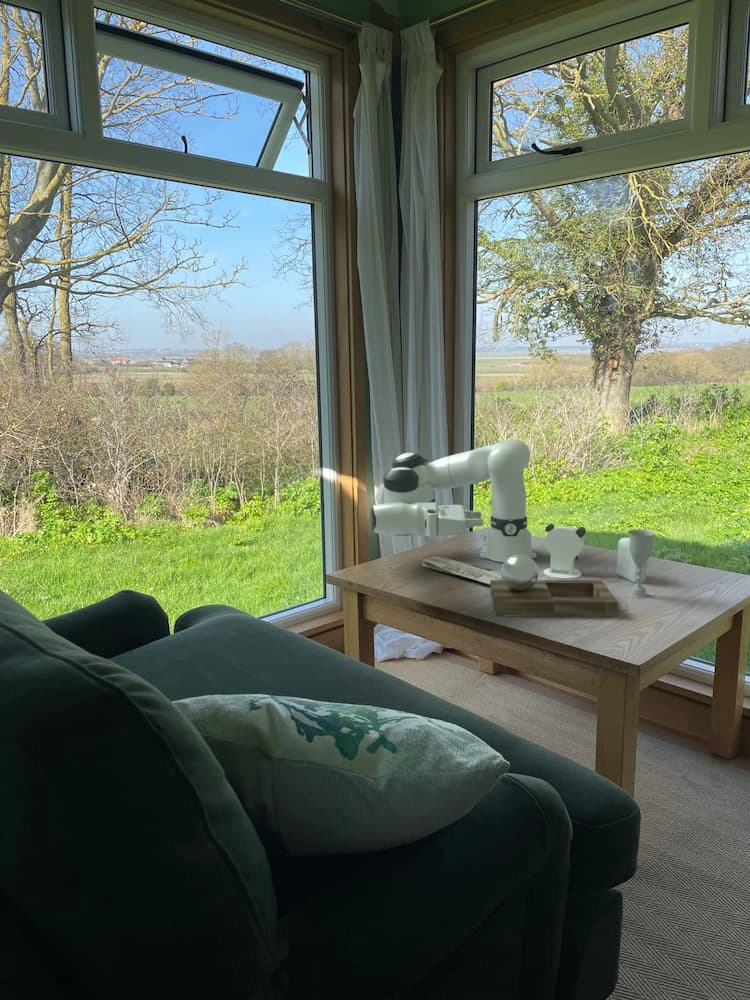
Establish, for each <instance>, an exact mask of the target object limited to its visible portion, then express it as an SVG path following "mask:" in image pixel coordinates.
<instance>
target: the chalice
mask: <svg viewBox="0 0 750 1000" xmlns="http://www.w3.org/2000/svg"><path fill="white" fill-rule="evenodd" d="M627 533H628V536H629V538H630V541H629V550H630V554H631V556H632V559H633V561H634V563H635V564H636V565H638V569H637V571H636V572H637V577H636V579H637V583H635V585H633V586H632V587H631V589H630V590H629V593H628V596H630V597H632V596H633V597H632V598H636V597H639V599H643V598H644V599H645V598H648V596H649V595H648V593H647V590H646V587H645V586H643V585H642V583H640V582H641V580H642V578H641V573H642V570H641V567H642V565H645V564H646V562H647V563H648V560H649V559H650V556H651V555H652V552H653V539H654V537H655V535H656V532H654V531H652V530H647V529H629V530H628V531H627Z"/></svg>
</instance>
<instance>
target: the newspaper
mask: <svg viewBox="0 0 750 1000" xmlns="http://www.w3.org/2000/svg"><path fill="white" fill-rule="evenodd" d="M418 560H421V561H423V562H422V567H424V568H426V569H430V570H433V571H438V572H442V573H445V574H449V575H453V576H456V577H460V578H463V579H467V580H471V581H474V582H479V583H482V584H485V585H489V586H490V580H502V577H501V571H499V570H495V569H491V568H487V567H483V566H479V565H474V564H472V563H467V562H463V561H458V560H454V559H450V558H446V557H443V556H440V555H439V556H432V557H429V558H425V559H421V558H418Z"/></svg>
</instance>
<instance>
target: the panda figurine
mask: <svg viewBox="0 0 750 1000" xmlns="http://www.w3.org/2000/svg"><path fill="white" fill-rule="evenodd" d="M545 532H546V533H547V535H546V537H545V542H544V544H545V545H544V546H545V548H546V550H547V552H548V553H549V554H550V563H549V564H550V566H549V567H548V568H546V569H544V570H543V574H544V575H545V576H546V575H547V576H546V577H549V576H550V577H549V578H552V577H553V579H558V578H559V579H558V580H574V579H577V577H578V578H580V577H581V576H582V571H580V570H579V569H576V568H575V563H576V561H577V560H578V559H579V556H578V555H579V554H580V553H581V552H582V550H583V549H584V547H585V540H584V537H585V535H586V533H587V530H586V528H585V527H584V526H580V527H578V528H575V527H573V526H569V525H557V526H555V525H554V523H548V525H547V526H546V527H545ZM573 578H574V579H573Z"/></svg>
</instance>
